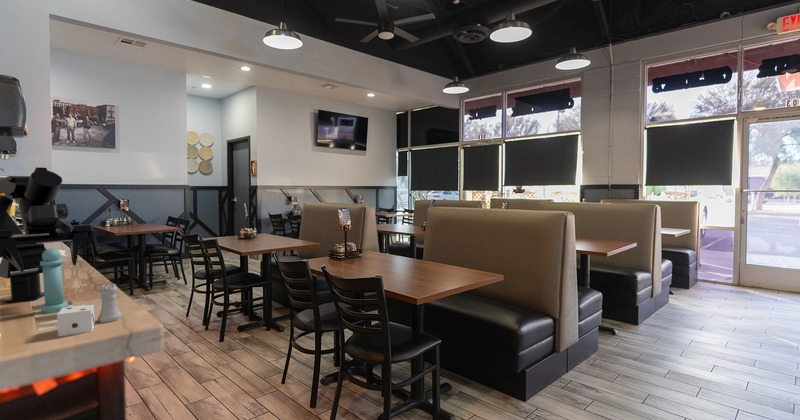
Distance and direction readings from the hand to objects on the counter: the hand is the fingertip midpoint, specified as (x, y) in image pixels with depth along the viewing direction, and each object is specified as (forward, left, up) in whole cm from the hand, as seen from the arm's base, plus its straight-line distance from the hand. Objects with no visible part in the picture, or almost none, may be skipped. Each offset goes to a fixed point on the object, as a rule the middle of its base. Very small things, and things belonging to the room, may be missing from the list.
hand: (49, 267), depth 93 cm
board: (+4, +2, -10) cm, 12 cm away
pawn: (+2, +1, -10) cm, 10 cm away
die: (+19, +11, -10) cm, 25 cm away
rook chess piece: (+14, +15, -11) cm, 23 cm away
